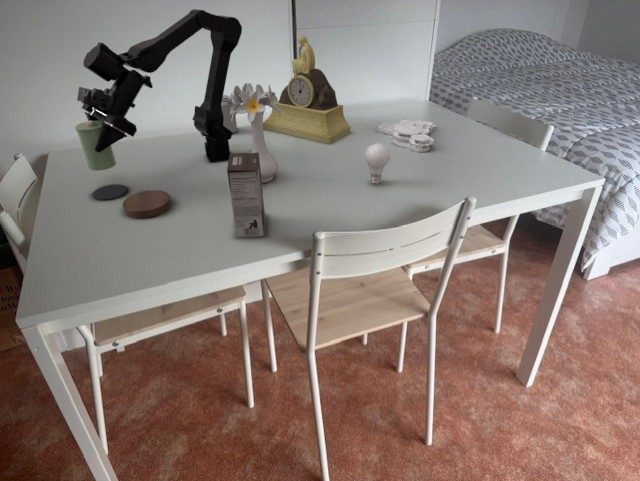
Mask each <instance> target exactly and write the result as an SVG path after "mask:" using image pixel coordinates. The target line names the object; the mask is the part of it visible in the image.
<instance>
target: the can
mask: <svg viewBox="0 0 640 481" xmlns="http://www.w3.org/2000/svg"><path fill="white" fill-rule="evenodd" d="M229 99H231V95H228V94H223V98H222V104H221V108H222V112H223V116H224V124H223V126H225V127H226V128H227V129H229V130H230V131H231V132H232V135H233V134H235V133H236V132H237V130H238V125H237V124H238V123H237V117H236V116H237V114H236V115H235V117H234V119H233V121H232V122H231V120H232V115H233V114H231V115H230V108H231V107H232V106H233V105H234V104H227V101H228V100H229Z"/></svg>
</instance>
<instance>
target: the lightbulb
mask: <svg viewBox="0 0 640 481" xmlns="http://www.w3.org/2000/svg"><path fill="white" fill-rule="evenodd" d="M390 159H391V153H390V150H389V148H388V146H386V145H385V144H384V143H379V142H377V143H372V144H371V145H369V146H368V147H367V148H366V151H365V153H364V160H365V162H366V165H367V166H368V167H369V171H370V182H371V183H372V184H374V185H379V184H380V183H382V175H383V172H384V169H385V167H386V166H387V164H389V161H390Z"/></svg>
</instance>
